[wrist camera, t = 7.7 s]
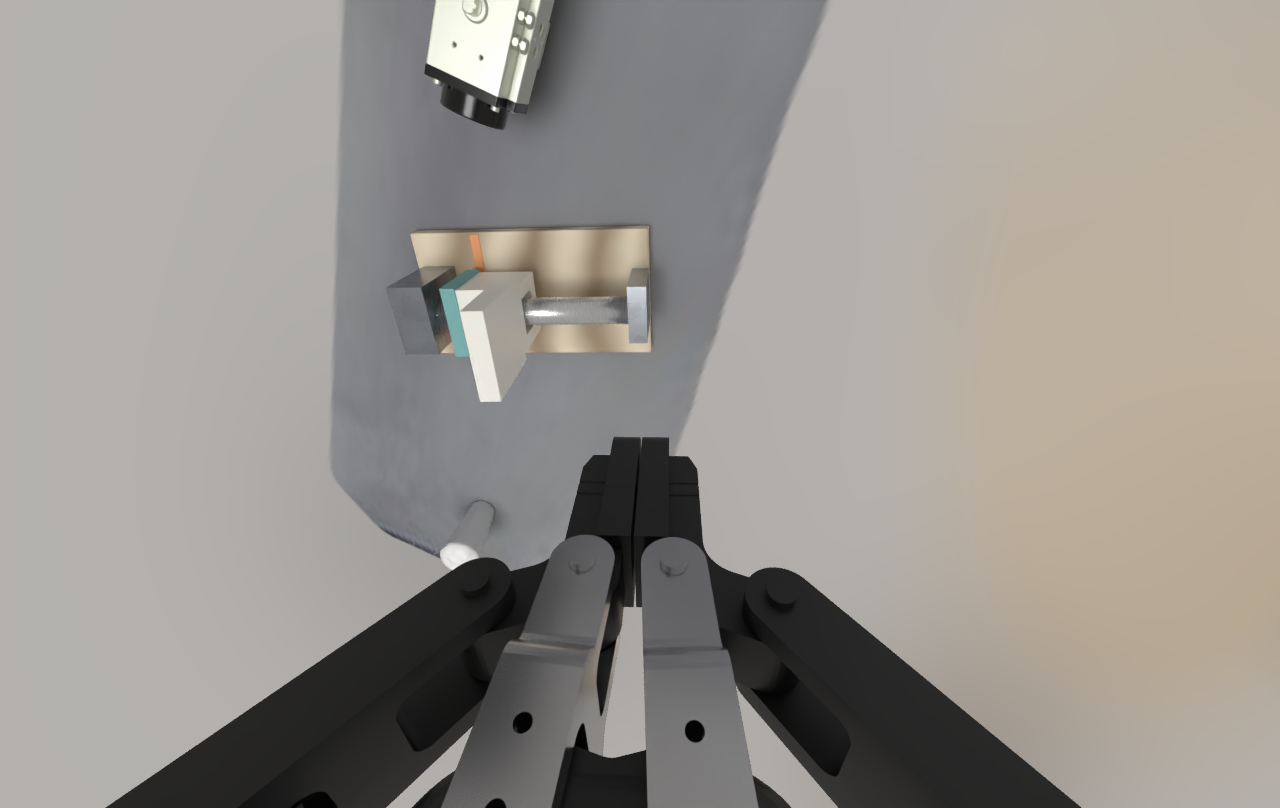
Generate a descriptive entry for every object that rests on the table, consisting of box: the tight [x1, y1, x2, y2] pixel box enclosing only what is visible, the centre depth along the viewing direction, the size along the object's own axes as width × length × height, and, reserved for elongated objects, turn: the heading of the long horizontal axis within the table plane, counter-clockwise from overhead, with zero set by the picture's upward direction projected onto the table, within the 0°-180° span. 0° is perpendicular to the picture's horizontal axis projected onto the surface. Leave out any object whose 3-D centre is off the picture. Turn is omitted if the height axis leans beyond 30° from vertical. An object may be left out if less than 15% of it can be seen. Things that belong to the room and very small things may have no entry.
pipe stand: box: [386, 225, 651, 354], centre depth 44 cm, size 22×12×8 cm, turn 92°
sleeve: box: [455, 271, 541, 402], centre depth 39 cm, size 5×7×13 cm
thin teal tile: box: [439, 270, 480, 357], centre depth 43 cm, size 1×6×6 cm, turn 2°
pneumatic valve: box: [424, 0, 555, 130], centre depth 32 cm, size 6×12×12 cm, turn 157°
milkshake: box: [434, 501, 495, 570], centre depth 58 cm, size 4×5×10 cm
